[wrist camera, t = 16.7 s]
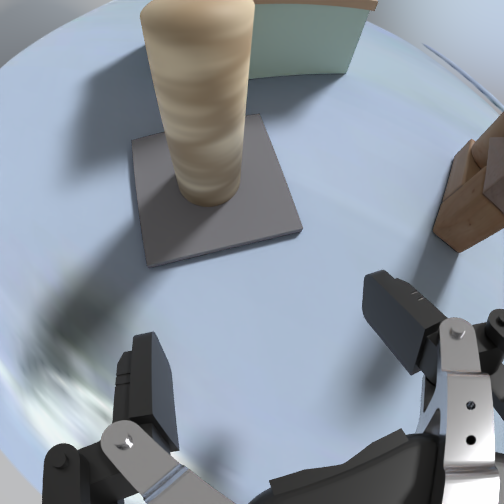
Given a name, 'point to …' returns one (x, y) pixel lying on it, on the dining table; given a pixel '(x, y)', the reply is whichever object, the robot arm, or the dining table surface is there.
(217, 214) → the charcoal mat
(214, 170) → the tan ridged cylinder
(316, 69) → the pale green box
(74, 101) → the dining table surface
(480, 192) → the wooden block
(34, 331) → the dining table surface
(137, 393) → the robot arm
